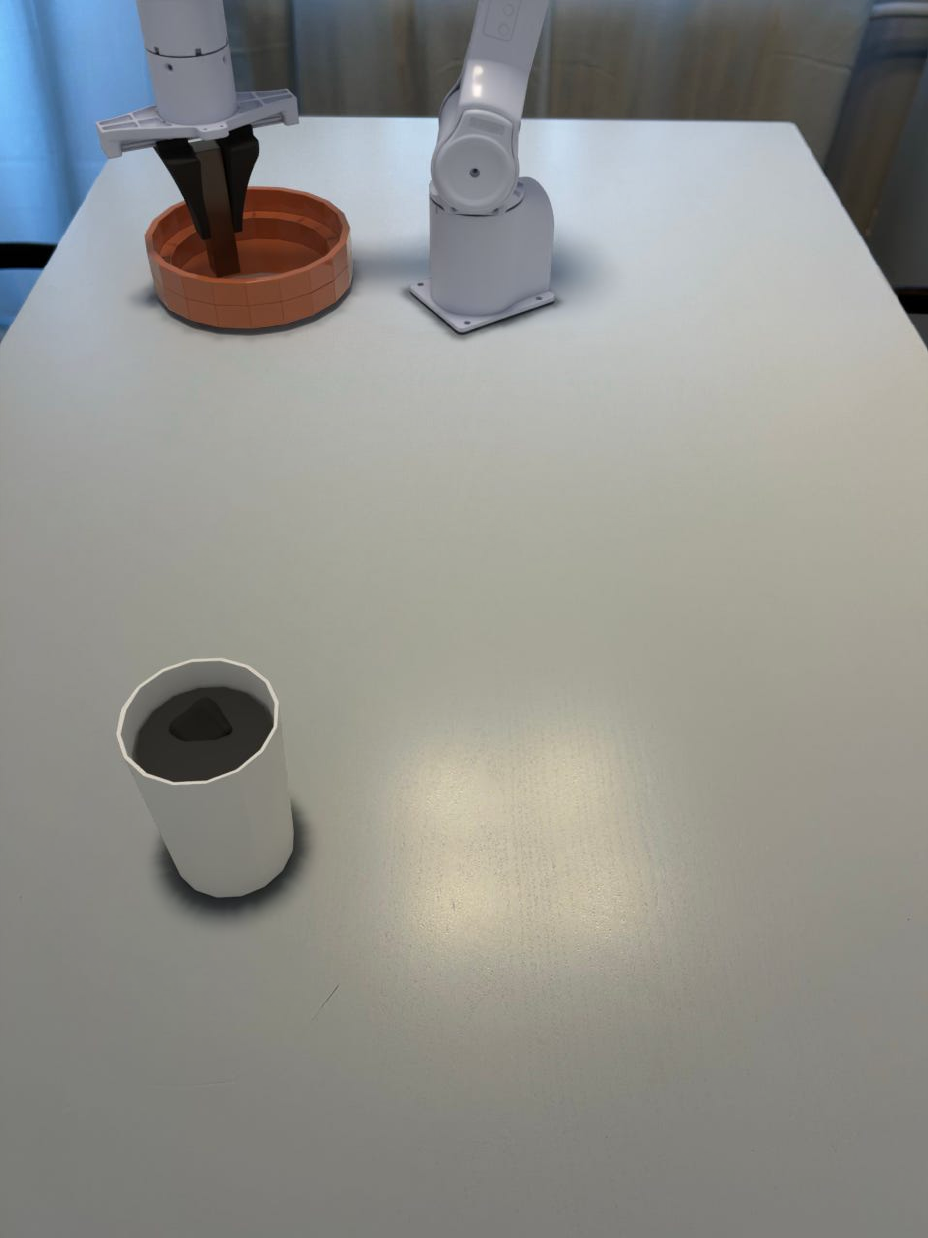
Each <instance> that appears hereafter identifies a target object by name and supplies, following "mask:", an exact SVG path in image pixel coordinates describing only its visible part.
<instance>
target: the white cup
mask: <svg viewBox="0 0 928 1238" xmlns="http://www.w3.org/2000/svg"><path fill="white" fill-rule="evenodd" d="M115 735H116V738H117V741H118V744H119V747H120V750H121V752H122V757H123V759H124V761H125V763H126V765H127V767H128V769H129V771H130V773H131V776H132V778H133V780H134V782H135V785H136V786H137V788H138V791H139V792H140V794H141V796H142V799H143V801H144V803H145V805H146V808H147V809H148V811H149V813H150V816H151V817H152V820H153V821H154V823H155V826H156V828H157V830H158V832H159V834H160V836H161V838H162V840H163V842H164V845H165V846H166V848H167V851H168V853H169V854H170V857H171V859H172V862H173V863H174V865H175V867H176V869H177V871H178V873H179V875H180V877H181V878H182V879H183V880H184V881H185V882H186V883H187V884H188V885H189V886H190V887H191V888H192V889H194V890H195V891H197V892H199V893H202V894H205V895H208V896H211V897H214V898H234V897H235V898H236V897H244V896H246V895H248V894H251V893H253V892H255V891H258V890H260V889H264V888H265V887H266V886H267V885H269V884H270V883H271V882H272V881H273V880H274V879H275V878H276V877H278V875H280V874H281V873H282V872H283V871H284V869H285V868H286V865H287V863H288V861H289V860H290V857H291V855H292V853H293V851H294V837H295V836H294V835H295V830H294V829H295V828H294V822H293V813H292V803H291V796H290V787H289V779H288V769H287V768H288V767H287V760H286V752H285V743H284V735H283V727H282V717H281V709H280V702H279V699H278V697H277V696H276V694H275V691H274V689H273V687H272V684H271V683H270V681H269V680H268V679H267V678H266V677H264V676H263V675H262V674H261V673H260V672H258V671H257V670H256V669H254V668H253V667H252V666H250V665H249V664H246V663H242V662H238V661H234V660H231V659H228V658H224V657H212V658H211V657H210V658H190V659H187V660H185V661H181V662H178V663H176V664H173V665H170V666H166V667H164V668H162V669H160V670H159V671H157V672H156V673H154V674H153V675H152V676H150V677H149V678H147V679H146V680H144V681H143V682H142V683H140V684H138V685H137V686H136V688H135V690H134V691H133V692H132V694H131V695H130V696H129V698H128V699H127V701H126V702H125V703H124V705H122V707H121V709H120V714H119V718H118V723H117V728H116V733H115Z"/></svg>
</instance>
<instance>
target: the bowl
mask: <svg viewBox="0 0 928 1238" xmlns="http://www.w3.org/2000/svg"><path fill="white" fill-rule="evenodd" d="M235 239H236V245H237V251H238V257H239V264H240V270H241V273H237V274H232V275H228V276H224V277H219V278H217V276H216V275H215V274H214V272H213V271H212V269H211V268H210V265H209V259H208V254H207V249H206V243H205V240H202V238H201V237H200V236H199V234H198V233H197V231H196V230H195V227H194V223H193V220H192V217H191V215H190V212H189V210H188V207H187V205H186V203H185V200H184V199H183V200H181V201H179V202H177V203H174V204H173V205H171V206H169V207H168V208H166V209H165V210H164V211H163V212H161V213H160V214H159V215H157V216H156V217H155V218H154V219H152V220H151V222H150V225H149V226H148V228H147V230H146V232H145V234H144V242H145V250H146V255H147V259H148V264H149V268H150V272H151V277H152V278H151V279H152V281H153V287H154V290H155V294H156V296H157V297H158V299H159V300H160V301H161V302H162V303H163V304H164V306H165V307H166V308H167V310H170V311H171V312H173V313H175V314H177V315H179V316H180V317H183V319H186V320H188V321H191V322H194V323H199V324H203V325H208V326H211V327H216V328H228V329H259V328H265V327H274V326H281V325H282V326H283V325H287V324H289V323H293V322H297V321H300V320H303V319H306V318H309V317H312V316H314V315H316V314H318V313H319V312H321V311H323V310H324V309H326V308H328V307H330V306H332V305H334V304H335V303H337V302H338V300H340V299H341V297H343V295H344V294H345V293H346V291H347V290H348V289H349V288H350V286H351V283H352V278H353V274H354V262H353V247H352V234H351V226H350V224H349V221H348V219H347V216H346V214H345V213H344V212H343V211H342V210H341V209H340V208H339V207H337V206H336V205H335V204H334V203H332V201H330V200H329V199H326V198H323V197H321V196H319V195H316V194H313V193H311V192H308V191H303V190H297V189H294V188H293V189H292V188H288V187H282V186H261V185H260V186H259V185H248V187H247V192H246V197H245V203H244V211H243V231H242V232H238V233H235Z"/></svg>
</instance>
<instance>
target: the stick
mask: <svg viewBox="0 0 928 1238" xmlns="http://www.w3.org/2000/svg"><path fill="white" fill-rule="evenodd" d="M188 143H189V144H190V145H191V146H192V147H193V151H194V154H195V156H196V157H197V158H198V160H199V161H200V162H201V177H202V188H203V197H204V203H205V207H206V211H207V216H208V220H209V224H210V230H211V238H210V239H205V243H206V249H207V254H208V259H209V265H210V268H211V269H212V271H213V272H214V274H215V275H216V276H217V278H219V277H224V276H228V275H232V274H237V273H241V270H240V264H239V257H238V251H237V245H236V239H235V233H234V228H233V222H232V214H231V207H230V201H229V195H228V189H227V182H226V176H225V170H224V163H223V157H222V151H221V148H220V146H219V145H218V144H217V143H216V142H215V140H207V141H205V140H202V139H200V140H196V141H190V142H189V141H188Z"/></svg>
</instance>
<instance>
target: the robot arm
mask: <svg viewBox="0 0 928 1238" xmlns="http://www.w3.org/2000/svg"><path fill="white" fill-rule="evenodd" d="M550 1H551V0H478V3H477V7H476V12H475V17H474V21H473V26H472V29H471V34H470V38H469V42H468V45H467V49H466V52H465V55H464V60H463V63H462V68H461V71H460V75H459V77H458V79H457V80H456V82H455V84H454V85H453V86H452V88H451V89H450V90H449V91H448V92H447V94H446V95H445V97H444V98H443V99H442V102H441V105H440V107H439V111H438V112H439V113H438V120H437V121H438V131H437V137H436V143H435V147H434V150H433V153H432V155H431V156H432V157H431V160H430V177H431V180H430V182H429V184H428V192H429V194H428V203H429V204H428V205H429V206H428V208H429V211H428V212H429V213H428V215H429V217H428V218H429V278H426V279H423V280H419V281H416V282H413V283H411V284H410V285H409V292H410V293H412V294H413V295H414V296H415V297H416V298H418V299H419V300H420V301H421V302H422V303H423V304H425V305H426V306H427V307H428V308H429V309H431V310H432V311H433V312H434V313H435V314H437V315H438V316H439V317H440V318H441V319H442V320H443V321H445V322H446V323H447V324H448V325H449V326H451V327H452V328H453V329H454V330H455V331H456V332H458V333H467V332H468V331H471V330H474V329H478V328H480V327H483V326H486V325H489V324H492V323H494V322H498V321H500V320H503V319H506V318H509V317H512V316H515V315H518V314H521V313H523V312H526V311H527V312H528V311H529V310H532V309H536V308H538V307H540V306H544V305H546V304H550V303H552V302H554V301H555V298H556V295H555V293H554V292H552V291H551V290H550V285H551V274H552V272H551V271H552V261H553V260H552V259H553V246H554V237H555V217H554V211H553V205H552V203H551V199H550V196H549V195H548V193H547V191H546V189H545V188H544V187H543V186H542V184H541V183H540V182H539V181H537V180H536V179H535V178H533V177H531V176H520V172H521V170H520V169H521V167H520V159H519V139H520V137H519V135H520V132H521V126H522V117H523V111H524V107H525V106H524V105H525V101H526V95H527V90H528V89H527V88H528V84H529V78H530V74H531V70H532V66H533V63H534V59H535V55H536V53H537V49H538V45H539V41H540V37H541V33H542V31H543V26H544V23H545V18H546V16H547V12H548V8H549V5H550V4H549V3H550ZM135 5H136V9H137V14H138V19H139V25H140V30H141V35H142V40H143V45H144V49H145V54H146V58H147V64H148V69H149V74H150V78H151V84H152V90H153V95H154V99H155V103H154V104H151V105H149V106H145V107H142V108H139V109H137V110H134V111H130V112H128V113H125V114H122V115H119V116H115V117H112V118H108V119H103V120H99V121H95V122H94V125H95V128H96V132H97V137H98V142H99V145H100V149H101V151H102V152H103V154H104V156H105V157H106V158H107V159H108V160H111V159H117V158H118V159H119V158H121V157H122V156H123V154H124V153H128V152H133V151H138V150H144V149H150V148H153V150H154V152H155V153H156V154H157V156H158V157H159V159H160V161H161V162H162V164H163V166H164V167H165V168H166V170H167V172H168V173H169V174H170V177H171V178H172V179H173V181H174V184H175V185H176V187H177V189H178V191H179V192H180V194H181V197H182V198H183V201H184V200H185V203H186V205H187V207H188V210H189V212H190V215H191V217H192V220H193V223H194V227H195V230H196V231H197V233H198V234H199V236H200V237H201V238H202V240H205V239H210V238H211V230H210V224H209V220H208V216H207V211H206V207H205V203H204V197H203V188H202V177H201V162H200V161H199V160H198V158H197V157H196V156H195V154H194V151H193V147H192V146H191V145H190V144H189V141H192V140H198V139H200V140H205V141H207V140H215V142H216V143H217V144H218V145H219V146H220V148H221V151H222V157H223V163H224V170H225V176H226V182H227V189H228V195H229V201H230V207H231V214H232V222H233V228H234V233H238V232H242V231H243V211H244V203H245V197H246V192H247V187H248V186H249V183H250V180H251V176H252V173H253V171H254V168H255V166H256V164H257V161H258V159H259V156H260V141H259V139H258V137H256V136H255V134H254V129H258V128H264V127H268V126H274V125H278V124H283V125H284V126H286V127H287V126H288V127H290V126H294V125H299V124H300V116H299V109H298V98H297V97H296V96H295V95H294V94H293V93H292V92H291V91H290V89H288V88H284V89H282V88H281V89H274V90H259V91H236V85H235V78H234V76H235V75H234V70H233V63H232V57H231V50H230V41H229V36H228V28H227V22H226V15H225V9H224V1H223V0H135Z"/></svg>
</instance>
